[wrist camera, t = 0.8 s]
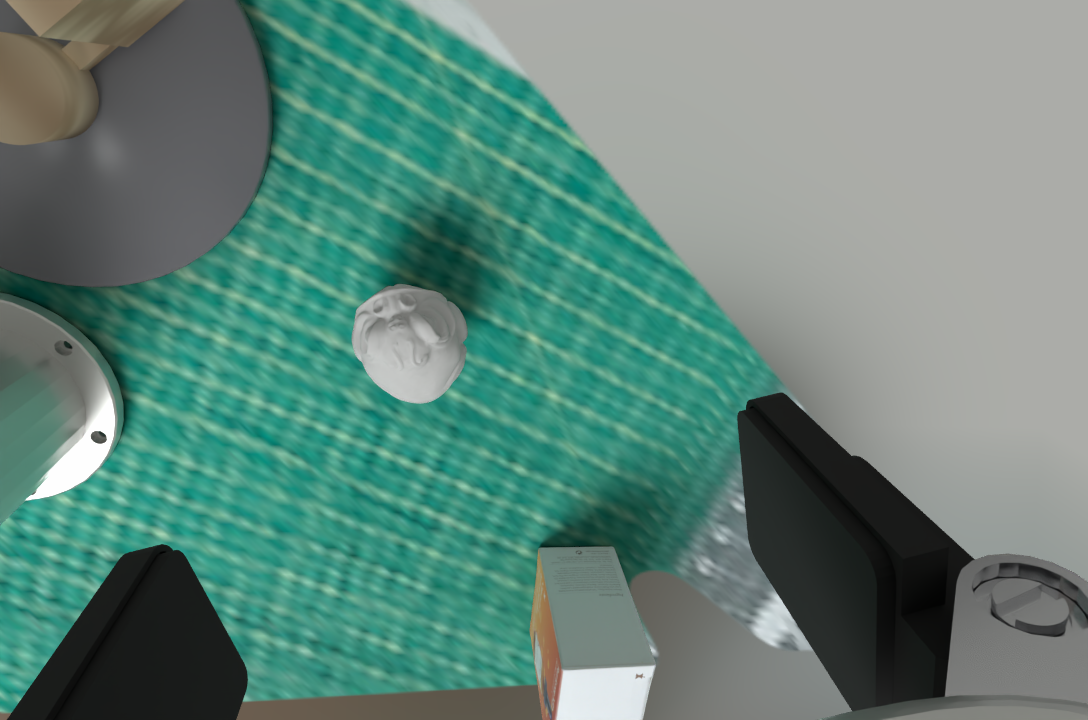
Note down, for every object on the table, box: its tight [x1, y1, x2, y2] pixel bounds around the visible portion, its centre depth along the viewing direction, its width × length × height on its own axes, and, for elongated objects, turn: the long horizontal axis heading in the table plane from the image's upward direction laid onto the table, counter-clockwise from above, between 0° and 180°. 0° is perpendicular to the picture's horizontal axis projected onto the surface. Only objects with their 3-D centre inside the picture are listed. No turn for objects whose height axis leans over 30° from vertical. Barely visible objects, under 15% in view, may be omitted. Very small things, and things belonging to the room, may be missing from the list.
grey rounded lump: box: [352, 284, 468, 403], centre depth 35 cm, size 6×7×7 cm
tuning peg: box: [0, 0, 185, 145], centre depth 26 cm, size 10×4×7 cm, turn 124°
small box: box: [530, 546, 656, 720], centre depth 43 cm, size 8×6×10 cm
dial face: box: [0, 0, 273, 287], centre depth 30 cm, size 19×19×2 cm
